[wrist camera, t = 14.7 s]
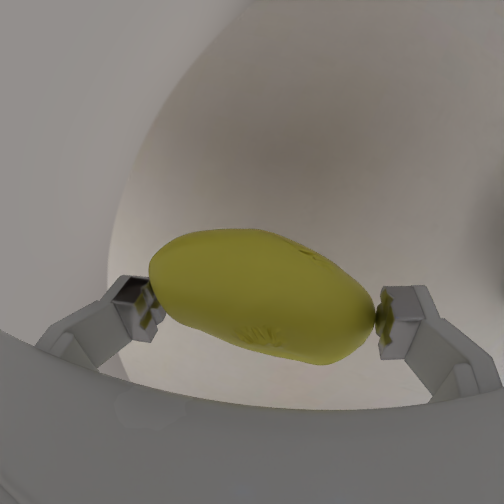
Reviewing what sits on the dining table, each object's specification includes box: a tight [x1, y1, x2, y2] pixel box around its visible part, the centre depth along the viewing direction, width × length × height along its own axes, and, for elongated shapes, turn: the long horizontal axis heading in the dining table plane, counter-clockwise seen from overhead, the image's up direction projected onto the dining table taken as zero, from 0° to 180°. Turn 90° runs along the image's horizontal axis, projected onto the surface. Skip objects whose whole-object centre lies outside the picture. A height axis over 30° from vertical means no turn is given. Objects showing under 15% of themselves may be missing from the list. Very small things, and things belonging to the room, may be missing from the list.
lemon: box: [149, 229, 376, 365], centre depth 9 cm, size 4×8×4 cm, turn 72°
